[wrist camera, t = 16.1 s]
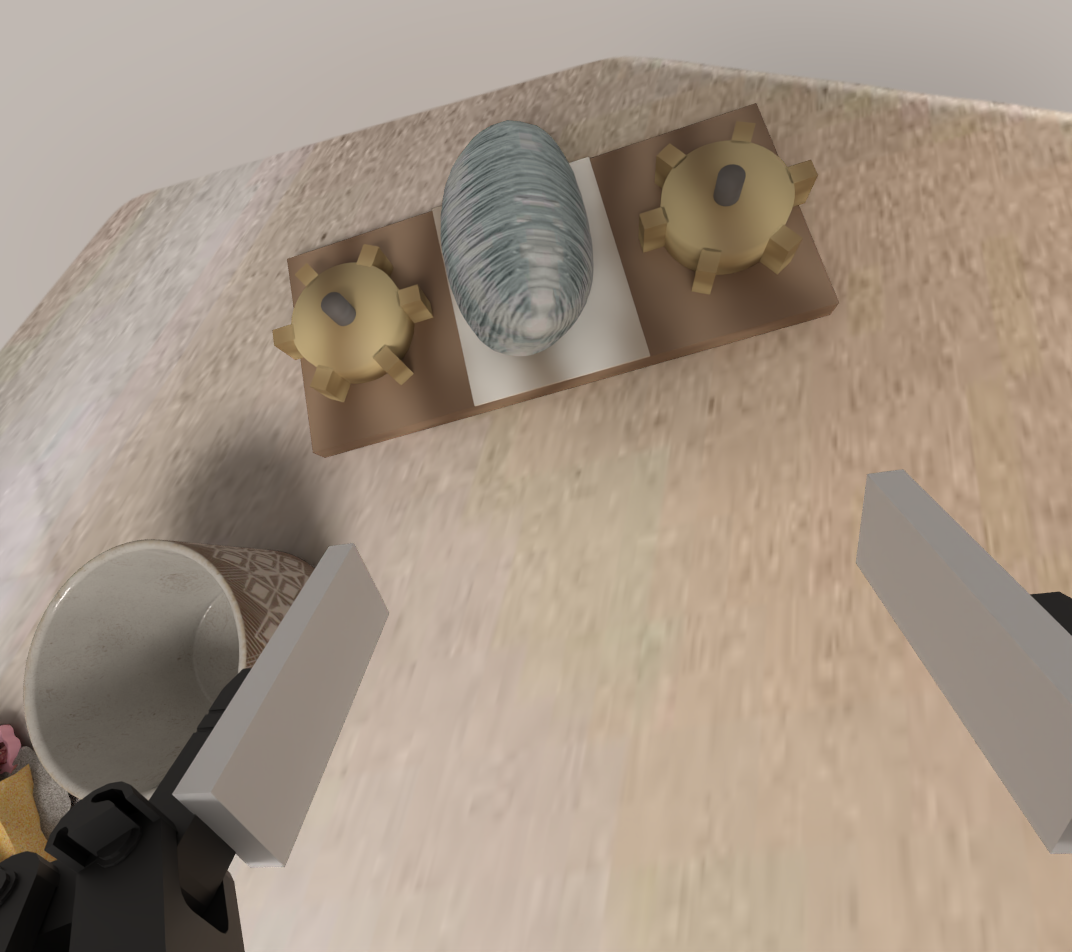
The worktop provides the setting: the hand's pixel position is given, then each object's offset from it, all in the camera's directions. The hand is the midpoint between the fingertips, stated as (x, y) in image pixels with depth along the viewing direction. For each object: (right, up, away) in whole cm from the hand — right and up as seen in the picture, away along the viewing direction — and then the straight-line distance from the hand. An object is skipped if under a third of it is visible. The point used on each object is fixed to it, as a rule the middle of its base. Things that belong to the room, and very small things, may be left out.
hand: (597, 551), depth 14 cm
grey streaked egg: (-2, +16, +23) cm, 28 cm away
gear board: (-2, +15, +24) cm, 29 cm away
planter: (-20, -10, +22) cm, 32 cm away
